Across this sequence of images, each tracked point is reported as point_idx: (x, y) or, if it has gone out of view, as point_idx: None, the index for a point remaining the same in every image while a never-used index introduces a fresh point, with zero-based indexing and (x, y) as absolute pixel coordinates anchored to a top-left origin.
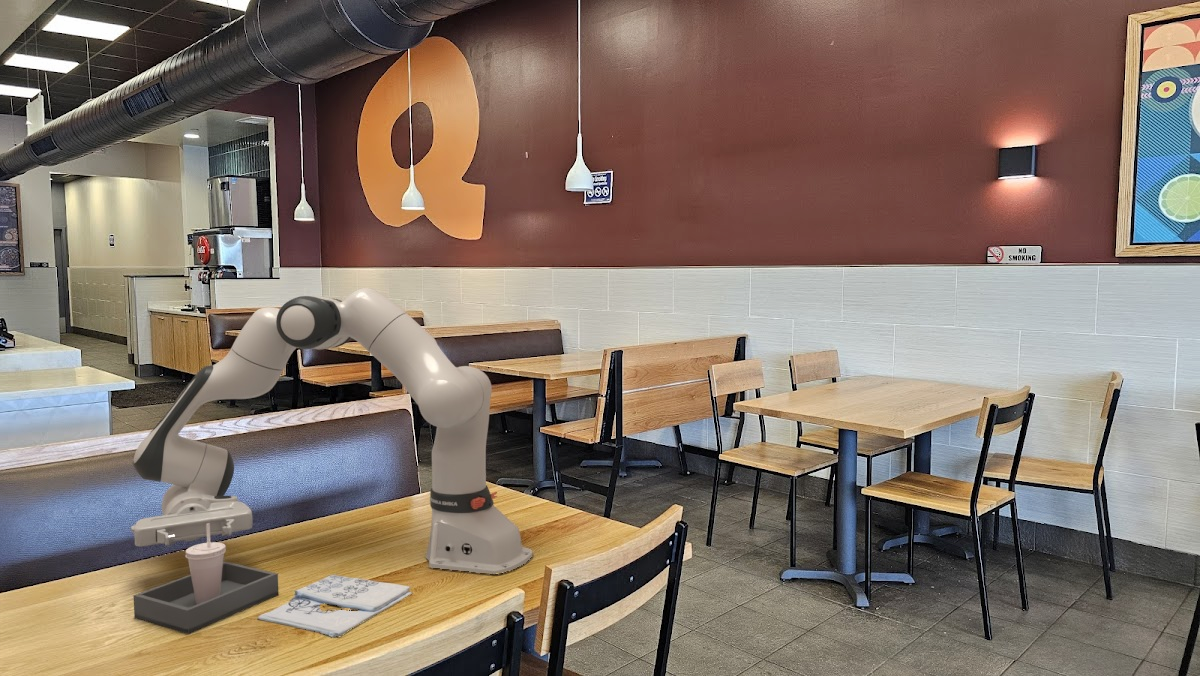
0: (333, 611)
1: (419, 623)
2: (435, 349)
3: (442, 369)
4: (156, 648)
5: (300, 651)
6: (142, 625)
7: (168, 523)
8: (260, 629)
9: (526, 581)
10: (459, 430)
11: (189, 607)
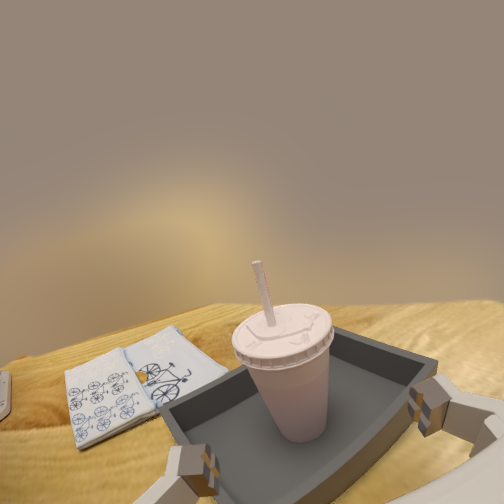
0: (146, 366)
1: (112, 334)
2: None
3: None
4: (353, 328)
5: (210, 316)
6: None
7: (502, 448)
8: (232, 351)
9: (16, 361)
10: None
11: (336, 406)
